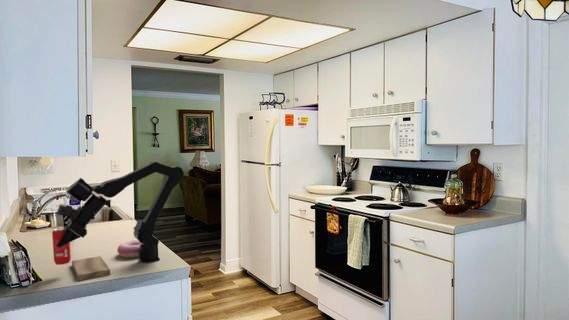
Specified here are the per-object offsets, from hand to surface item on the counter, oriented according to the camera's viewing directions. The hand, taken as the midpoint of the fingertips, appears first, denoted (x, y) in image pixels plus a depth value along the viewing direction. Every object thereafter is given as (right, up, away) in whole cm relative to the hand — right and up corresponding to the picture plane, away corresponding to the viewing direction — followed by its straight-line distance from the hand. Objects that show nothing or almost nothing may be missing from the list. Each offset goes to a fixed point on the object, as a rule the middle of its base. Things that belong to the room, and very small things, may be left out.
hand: (56, 245), depth 141 cm
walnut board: (+8, -11, +7) cm, 15 cm away
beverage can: (+1, -7, +1) cm, 7 cm away
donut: (+18, -10, +26) cm, 33 cm away
